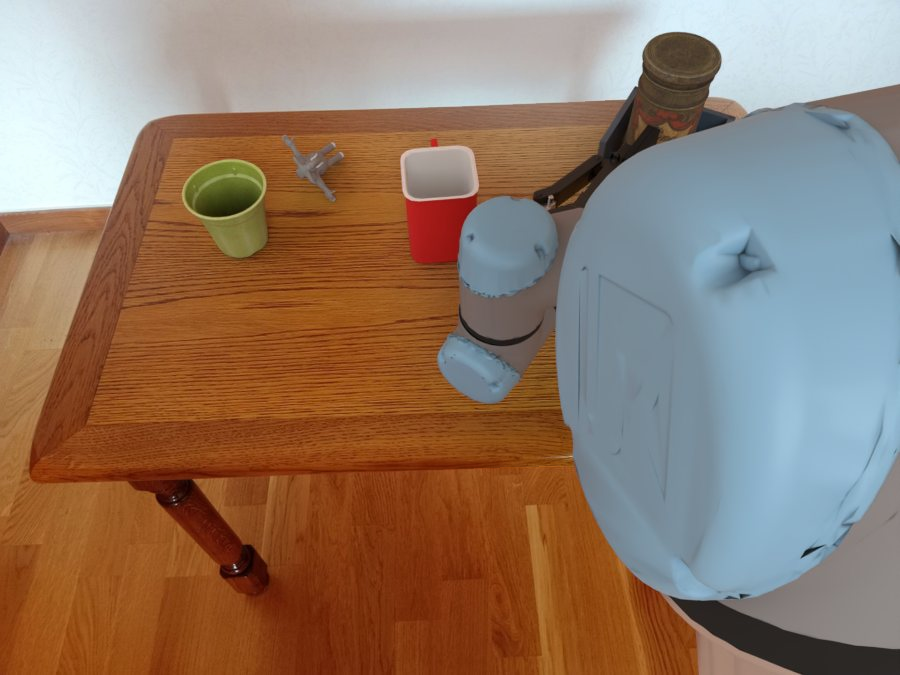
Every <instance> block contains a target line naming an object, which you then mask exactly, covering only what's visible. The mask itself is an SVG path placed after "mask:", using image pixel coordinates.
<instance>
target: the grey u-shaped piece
mask: <svg viewBox="0 0 900 675" xmlns="http://www.w3.org/2000/svg"><path fill="white" fill-rule="evenodd" d="M637 89H638V85H637V86H636V85H635V86H634V87H633V89H632V90H631V91H630V93H629V95H627V98H626V100H625V101H624V103H623V104H622V106H620V108H619V111H618V112H617V113H616V115H615V116H614V118H613V120H612V121H611V123H610V124H609V126H608V127H607V129H606V131H605V132H604V133H603V136H602V137H601V138H600V140H599V144H598V149H597V153H596V154H598V155H601V156H602V158H603V159H610V155H611V153H612V152H617V151H618V150H619V149H620V147H621V146H622V145H623V138H624V135H625V133H626V131H627V129H628V125H629V121H630V117H631V113H632V109H633V105H634V100H635V96H636V93H637ZM736 118H737V116H734V115H731V114H728V113H724V112H721V111H718V110H714V109H712V108H708V107H705V106H704V108H703V110H702V114H701V116H700V119H699V122H698V125H697V128H696V131H695V133H697V132H700V131H704V130H707V129H710V128H714V127H717V126H720V125H724V124H727V123H730V122H733V121H735V120H737V119H736Z"/></svg>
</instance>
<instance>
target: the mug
mask: <svg viewBox="0 0 900 675" xmlns="http://www.w3.org/2000/svg"><path fill="white" fill-rule="evenodd" d="M475 156H476V155H475V153H474V151H473V149H472V148H470V147H469V146H466V145H459V144H457V145H444V146H443V145H441V146H439V143H438V139H437V138H436V137H433V138H431V139H430V147H429V146H428V147H417V148H416V147H415V148H410V149H408V150H406V151H404V152H403V153H402V154H401V155H400V159H399V162H400V163H399V164H400V165H399V166H400V177H401V190H402V191H401V192H402V194H403V196H404V200H405V202H404V203H405V210H406V222H407V230H408V231H407V232H408V240H409V241H408V242H409V251H410V256H411V258H412V260H413V261H414V262H416V263H418V264H424V265H426V264H438V263H452V262H457V261H458V253H459V243H460V237H461V231H462V227H463V224H464V222H465V220H466V218H467V216H468V215H469V214H470V212H471V211H472V210H473V209H474V208H476V207H477V206H478V192H479V189H480V182H479V176H478V169H477V163H476V157H475Z"/></svg>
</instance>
